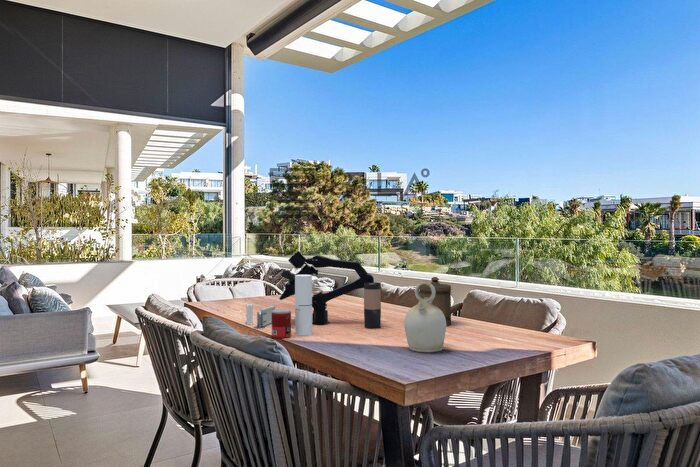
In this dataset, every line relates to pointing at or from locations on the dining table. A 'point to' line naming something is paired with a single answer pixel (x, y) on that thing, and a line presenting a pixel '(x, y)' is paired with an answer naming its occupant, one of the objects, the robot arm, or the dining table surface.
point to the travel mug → (372, 305)
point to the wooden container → (439, 297)
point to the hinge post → (259, 320)
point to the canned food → (281, 323)
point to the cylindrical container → (303, 305)
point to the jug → (425, 324)
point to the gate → (267, 314)
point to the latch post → (249, 313)
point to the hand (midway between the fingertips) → (280, 299)
